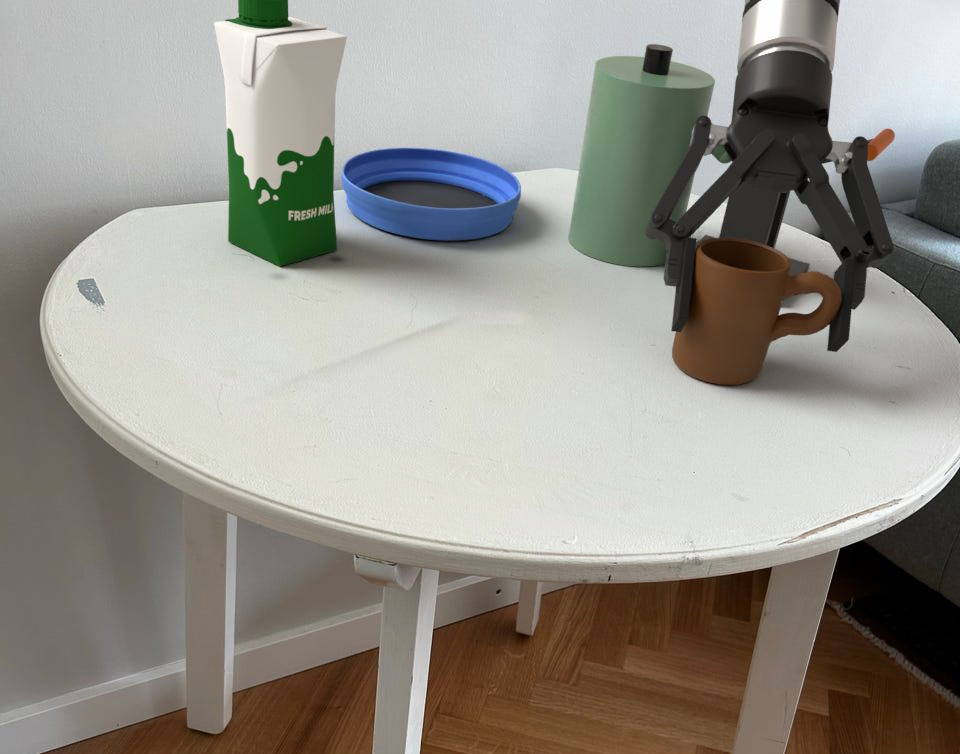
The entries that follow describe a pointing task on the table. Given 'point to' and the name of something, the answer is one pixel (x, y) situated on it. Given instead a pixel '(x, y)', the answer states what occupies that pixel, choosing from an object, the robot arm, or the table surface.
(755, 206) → the dark grey stand
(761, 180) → the robot arm
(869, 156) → the switch
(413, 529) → the table surface
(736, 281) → the mug
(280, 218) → the milk carton
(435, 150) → the bowl
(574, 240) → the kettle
